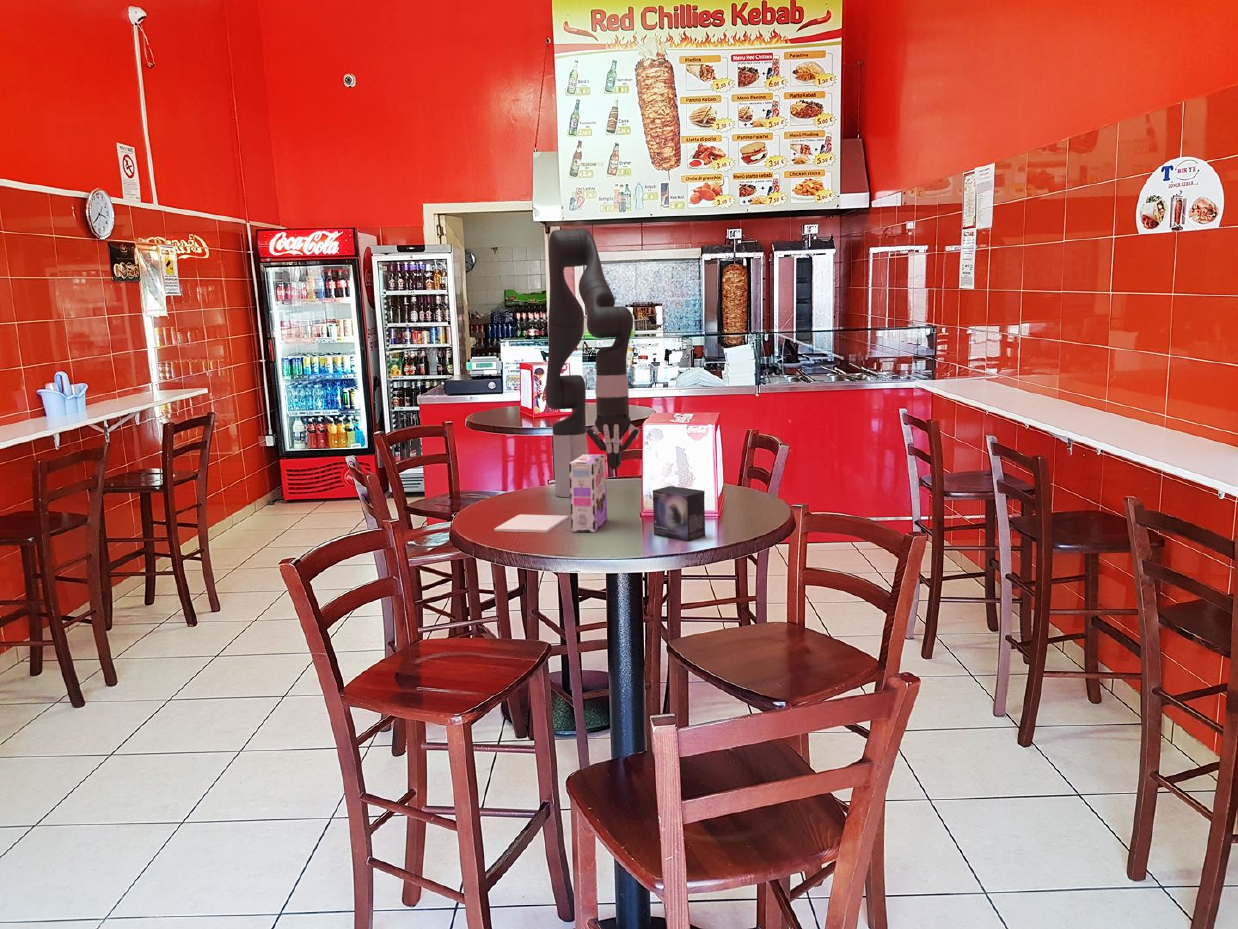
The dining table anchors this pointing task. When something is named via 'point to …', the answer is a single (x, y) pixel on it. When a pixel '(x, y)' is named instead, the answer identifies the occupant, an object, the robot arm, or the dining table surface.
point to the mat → (532, 523)
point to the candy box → (588, 493)
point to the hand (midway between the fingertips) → (614, 468)
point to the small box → (679, 513)
